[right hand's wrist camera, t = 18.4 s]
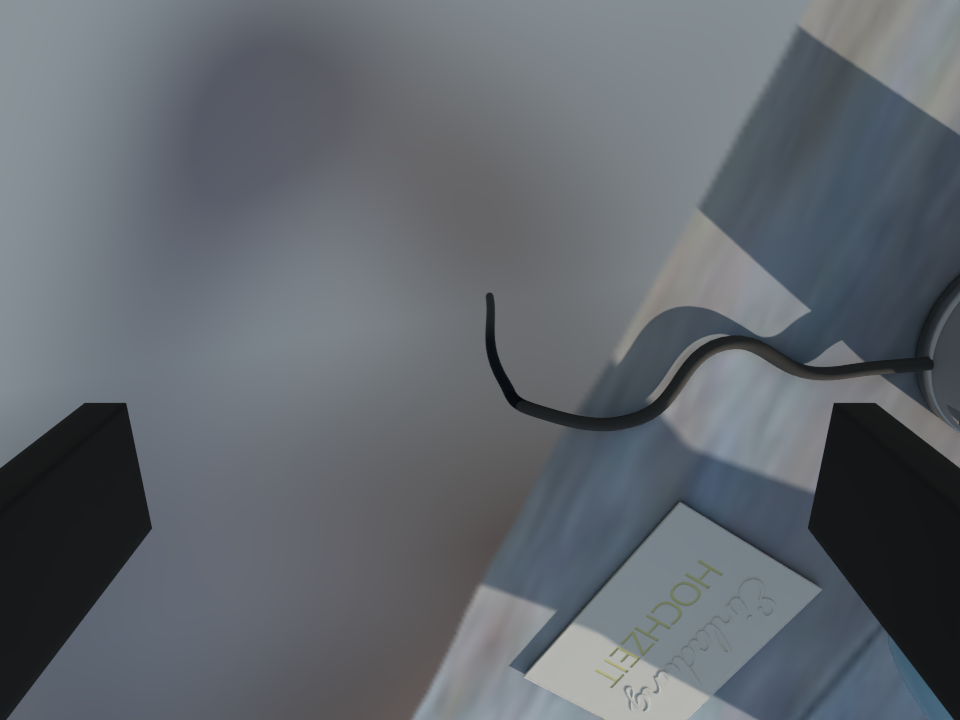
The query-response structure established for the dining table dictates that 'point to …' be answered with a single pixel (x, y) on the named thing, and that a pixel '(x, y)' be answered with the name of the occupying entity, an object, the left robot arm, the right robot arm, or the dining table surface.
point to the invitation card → (672, 623)
